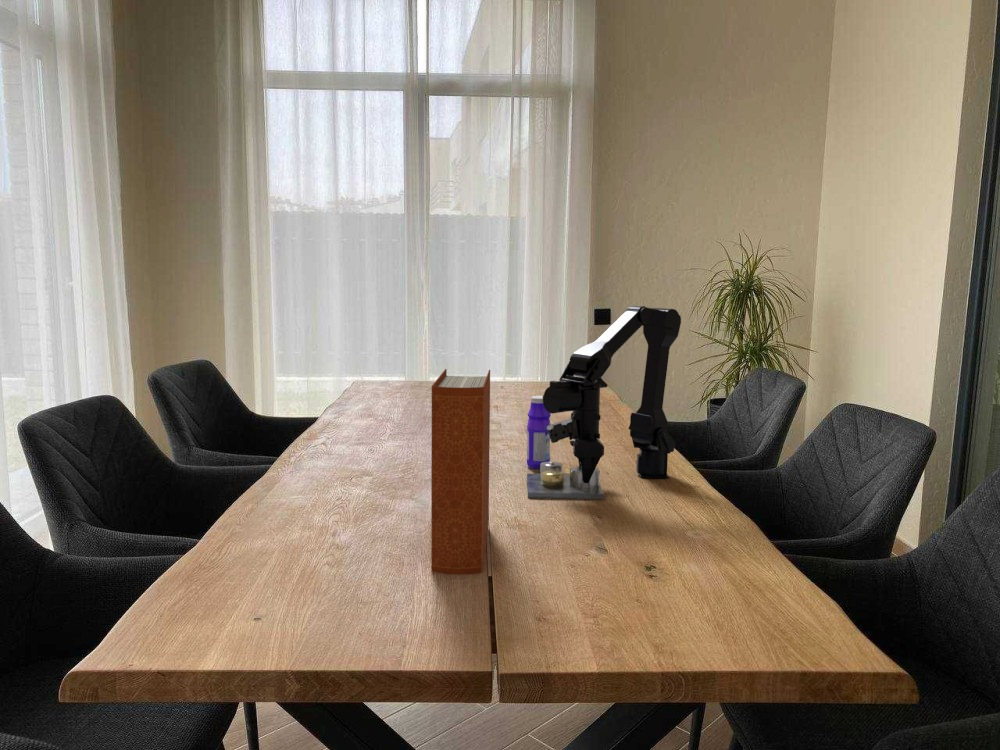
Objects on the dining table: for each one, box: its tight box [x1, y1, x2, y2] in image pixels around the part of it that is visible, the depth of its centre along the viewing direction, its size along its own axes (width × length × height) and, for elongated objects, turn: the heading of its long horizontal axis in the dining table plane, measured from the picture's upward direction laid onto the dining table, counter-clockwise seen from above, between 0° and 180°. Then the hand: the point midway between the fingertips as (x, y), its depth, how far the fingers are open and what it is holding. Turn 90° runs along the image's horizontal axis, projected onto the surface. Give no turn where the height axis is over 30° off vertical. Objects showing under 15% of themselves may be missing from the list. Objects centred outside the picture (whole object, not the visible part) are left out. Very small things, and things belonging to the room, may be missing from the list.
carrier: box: [526, 461, 605, 500], centre depth 177 cm, size 16×16×5 cm
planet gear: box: [569, 465, 600, 489], centre depth 176 cm, size 6×6×4 cm
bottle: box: [526, 395, 552, 470], centre depth 196 cm, size 7×6×17 cm
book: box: [430, 368, 491, 576], centre depth 136 cm, size 23×8×30 cm, turn 178°
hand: (584, 478), depth 176 cm, fingers open, 7 cm apart
